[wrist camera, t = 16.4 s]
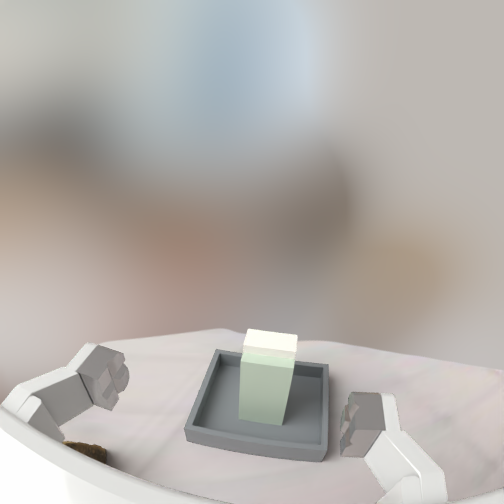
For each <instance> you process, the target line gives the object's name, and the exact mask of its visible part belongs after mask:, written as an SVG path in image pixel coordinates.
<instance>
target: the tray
mask: <svg viewBox="0 0 504 504" xmlns="http://www.w3.org/2000/svg"><path fill="white" fill-rule="evenodd" d="M241 358H242V353H236V352H230V351H224V350H218V349H216V350H215V353H214V355H213V358H212V360H211V363H210V365H209V368H208V370H207V373H206V375H205V378H204V380H203V383H202V385H201V388H200V390H199V393H198V395H197V398H196V400H195V402H194V405H193V407H192V410H191V412H190V415H189V417H188V420H187V422H186V425H185V427H184V430H185V434H186V439H187V441H189V442H193V443H197V444H201V445H205V446H210V447H214V448H219V449H224V450H229V451H234V452H240V453H246V454H252V455H258V456H265V457H272V458H280V459H289V460H299V461H311V462H322V460H323V458H324V456H325V454H326V452H327V447H328V406H329V370H328V364H319V363H309V362H300V361H295V362H294V370H293V375H292V380H291V385H290V390H289V395H288V400H287V404H286V409H285V413H284V418H283V422H282V425H274V424H266V423H259V422H253V421H246V420H240V419H239V393H240V363H241Z"/></svg>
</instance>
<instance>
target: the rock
mask: <svg viewBox="0 0 504 504" xmlns="http://www.w3.org/2000/svg"><path fill="white" fill-rule="evenodd" d="M62 444H64V445H66V446H68V447H69V448H71V449H73V450H75V451H77V452H79V453H81V454H83V455H86V456H88V457H90V458H92V459H94V460H96V461H99V462H101V463H103V464H105V463H106V453H105V449H104V448H102V447H101V446H98V445H89V444H86V443H81V442H78V443H76V442H69V441H67V442H62Z"/></svg>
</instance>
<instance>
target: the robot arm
mask: <svg viewBox="0 0 504 504" xmlns="http://www.w3.org/2000/svg"><path fill="white" fill-rule="evenodd" d="M124 361H125V357H124V354H123V353H121V352H118V351H115V350H112V349H109V348H106V347H103V346H100V345H97V344H94V343H91V342H88V343H86V344H85V345H84V346H83V347H82V349H81V350H80V351H79V352H78V353H77V355H76V356H75V357H74V358H73V359H72V361H71V362H70V363H69V364H68V365H67V366H66V368H65V367H61V368H58V369H56V370H53V371H51V372H49V373H46V374H44V375H41V376H38V377H36V378H34V379H31V380H29V381H26V382H23V383H21V384H18V385H17V386H16V387H15V388H14V390H12V392H11V393H10V394H9V395H8V397H7V398H6V399H5V400H4V401H3V402H2V404H1V405H0V504H233V503H228V502H223V501H218V500H214V499H209V498H205V497H201V496H197V495H193V494H189V493H185V492H182V491H178V490H175V489H171V488H168V487H165V486H161V485H158V484H155V483H152V482H149V481H146V480H144V479H141V478H138V477H135V476H133V475H130V474H127V473H125V472H122V471H120V470H117V469H115V468H112V467H110V466H108V465H105V464H103V463H101V462H99V461H96V460H94V459H92V458H90V457H88V456H86V455H83V454H81V453H79V452H77V451H75V450H73V449H71V448H69V447H68V446H66V445H64V444H62V442H63V441H64V439H65V437H64V434H63V433H62V431H61V430H60V428H59V426H61V425H62V424H64V423H66V422H67V421H69V420H71V419H72V418H74V417H76V416H77V415H79V414H81V413H82V412H84V411H85V410H87V409H89V408H90V407H92V406H93V405H96V406H99V407H102V408H104V409H107V410H110V411H112V409H113V408H114V406H115V405H116V403H117V401H118V400H119V396H118V393H120V392H122V391H124V390H125V388H126V386H127V384H128V381H129V371H128V368H127V367H126V366H125V364H124ZM340 431H341V432H342V433H343V437H342V439H341V441H340V457H360V458H363V459H364V460H365V462H366V463H367V465H368V467H369V468H370V470H371V471H372V473H373V474H374V476H375V477H376V479H377V480H378V482H379V483H380V485H381V486H382V488H383V489H384V491H385V493H386V494H385V495H384V496H383V497H382V498H381V499H380V500H379V501H378V502H377V503H375V504H504V487H503V488H500V489H497V490H494V491H490V492H487V493H484V494H480V495H476V496H473V497H469V498H465V499H461V500H456V501H452V502H448V497H447V490H446V483H445V477H444V472H443V470H442V469H441V468H440V467H439V466H438V465H437V464H436V463H435V462H434V461H433V460H432V459H431V458H430V457H429V456H428V454H427V453H426V452H425V451H424V450H423V449H422V448H421V447H420V446H419V445H418V444H417V443H416V442H415V441H414V440H413V438H412V437H411V436H410V435H409V434H408V433H407V432H406V431H405V430H401V426H400V421H399V415H398V409H397V404H396V399H395V395H394V394H393V393H367V392H351V394H350V395H349V398H348V405H346V406H345V407H344V410H343V412H342V417H341V424H340Z"/></svg>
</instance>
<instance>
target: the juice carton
mask: <svg viewBox="0 0 504 504" xmlns="http://www.w3.org/2000/svg"><path fill="white" fill-rule="evenodd" d="M297 337H298V336H297V335H293V334H285V333H277V332H269V331H262V330H255V329H248V331H247V334H246V338H245V341H244V345H243V354H242V358H241V363H240V393H239V419H240V420H246V421H253V422H259V423H266V424H274V425H282V422H283V418H284V413H285V409H286V404H287V400H288V395H289V390H290V385H291V380H292V375H293V370H294V362H295V356H296V348H297Z"/></svg>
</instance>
